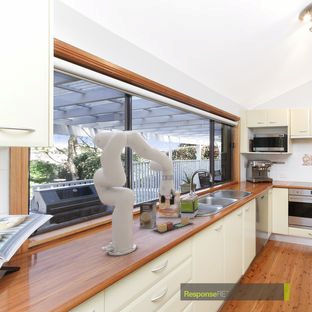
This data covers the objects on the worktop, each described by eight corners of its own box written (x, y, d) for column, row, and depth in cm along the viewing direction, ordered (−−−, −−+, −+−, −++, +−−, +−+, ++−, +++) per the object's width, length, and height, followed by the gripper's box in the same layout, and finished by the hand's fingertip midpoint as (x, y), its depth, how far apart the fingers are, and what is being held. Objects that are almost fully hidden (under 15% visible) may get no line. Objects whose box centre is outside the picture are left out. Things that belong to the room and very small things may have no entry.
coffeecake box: (158, 217, 170) (158, 192, 170) (162, 215, 177) (162, 191, 177) (177, 217, 170) (177, 192, 170) (180, 215, 177) (180, 191, 177)
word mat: (161, 234, 132) (161, 227, 132) (152, 231, 138) (152, 224, 138) (194, 224, 153) (194, 218, 153) (184, 221, 159) (184, 215, 159)
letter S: (167, 230, 139) (167, 223, 139) (164, 228, 142) (164, 222, 142) (173, 228, 143) (173, 222, 143) (169, 227, 145) (169, 221, 145)
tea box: (186, 213, 183) (186, 195, 183) (198, 213, 182) (198, 195, 182) (180, 218, 168) (180, 199, 168) (193, 218, 167) (193, 199, 167)
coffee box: (139, 228, 144) (139, 204, 144) (144, 225, 151) (144, 202, 151) (152, 228, 143) (152, 204, 143) (156, 225, 150) (156, 202, 150)
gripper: (154, 177, 146) (154, 203, 146) (170, 179, 135) (170, 206, 135) (164, 176, 152) (164, 201, 152) (180, 178, 141) (180, 204, 141)
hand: (167, 203), depth 144 cm, fingers open, 9 cm apart
